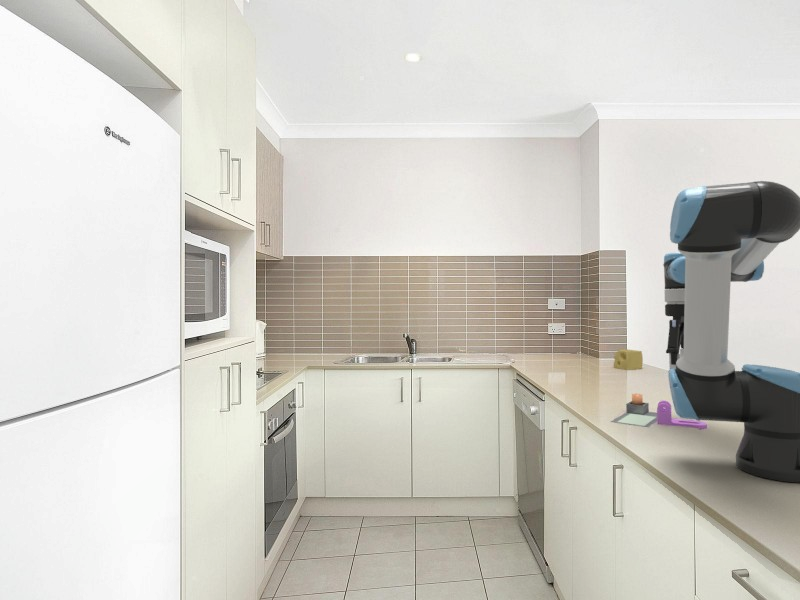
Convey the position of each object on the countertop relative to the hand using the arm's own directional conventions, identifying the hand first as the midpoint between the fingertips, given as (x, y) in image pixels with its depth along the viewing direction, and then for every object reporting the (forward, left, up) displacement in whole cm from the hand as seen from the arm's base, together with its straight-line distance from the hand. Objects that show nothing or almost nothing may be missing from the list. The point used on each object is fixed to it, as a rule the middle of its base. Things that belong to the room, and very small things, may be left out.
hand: (680, 372), depth 148 cm
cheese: (+113, +49, -17) cm, 124 cm away
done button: (+8, +15, -14) cm, 22 cm away
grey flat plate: (+1, +12, -16) cm, 20 cm away
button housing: (+8, +15, -16) cm, 23 cm away
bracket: (0, 0, -17) cm, 17 cm away
